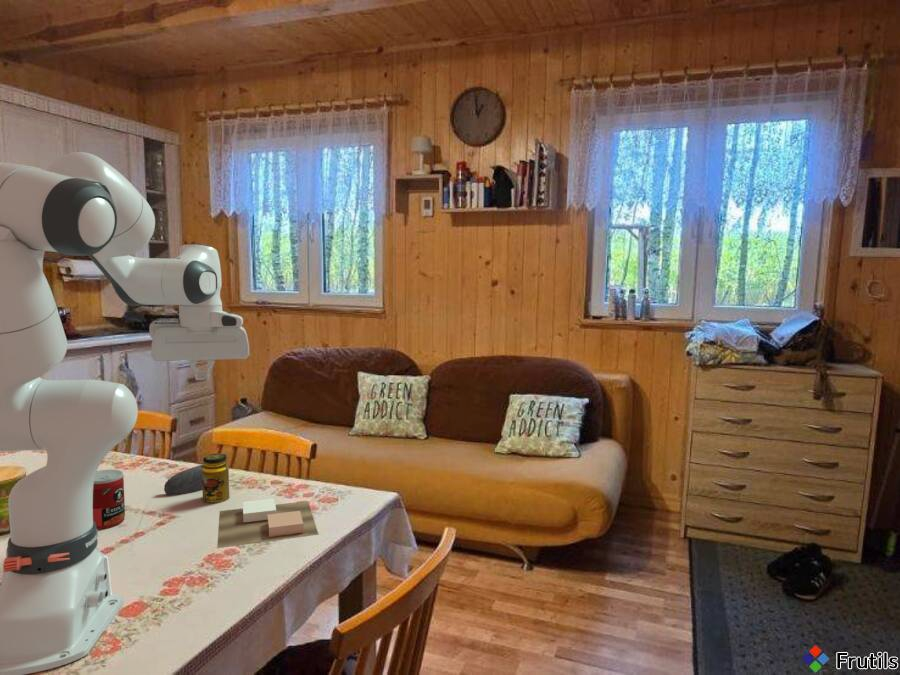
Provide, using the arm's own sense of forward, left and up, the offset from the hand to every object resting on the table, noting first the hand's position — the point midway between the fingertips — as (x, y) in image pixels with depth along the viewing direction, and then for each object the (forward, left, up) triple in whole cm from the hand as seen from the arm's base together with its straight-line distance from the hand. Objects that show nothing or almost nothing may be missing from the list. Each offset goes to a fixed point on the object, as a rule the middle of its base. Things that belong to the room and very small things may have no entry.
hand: (202, 379), depth 130 cm
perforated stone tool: (+17, +3, -33) cm, 37 cm away
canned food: (+4, +21, -32) cm, 39 cm away
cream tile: (-5, -8, -30) cm, 31 cm away
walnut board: (-10, -13, -32) cm, 36 cm away
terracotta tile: (-14, -13, -30) cm, 36 cm away
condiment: (+9, -2, -33) cm, 34 cm away
